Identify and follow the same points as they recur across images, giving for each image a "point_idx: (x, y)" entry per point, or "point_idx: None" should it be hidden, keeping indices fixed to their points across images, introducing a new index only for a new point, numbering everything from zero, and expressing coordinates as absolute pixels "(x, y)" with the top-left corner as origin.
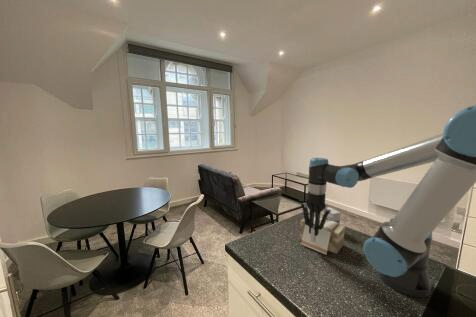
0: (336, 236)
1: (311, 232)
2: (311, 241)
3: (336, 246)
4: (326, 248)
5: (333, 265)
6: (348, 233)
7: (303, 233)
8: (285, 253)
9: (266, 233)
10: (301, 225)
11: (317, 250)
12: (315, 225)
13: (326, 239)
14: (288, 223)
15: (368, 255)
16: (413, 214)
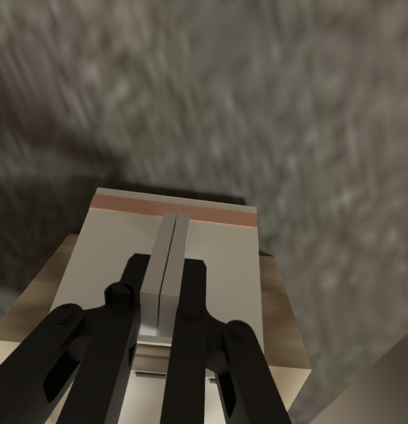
0: (19, 315)
1: (176, 262)
2: (180, 214)
3: (53, 261)
4: (90, 216)
5: (33, 124)
6: None
7: (257, 270)
8: (329, 52)
9: None
10: (291, 332)
11: (148, 196)
12: (118, 338)
13: (85, 268)
14: (359, 347)
15: None
16: None
